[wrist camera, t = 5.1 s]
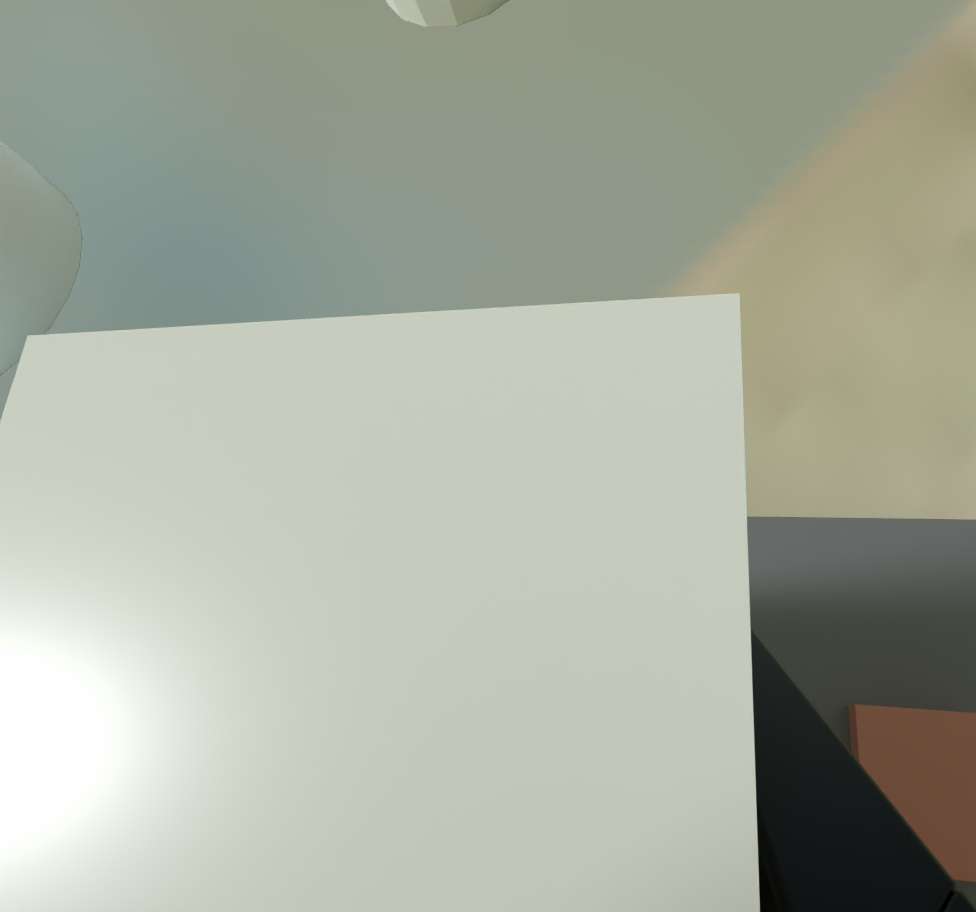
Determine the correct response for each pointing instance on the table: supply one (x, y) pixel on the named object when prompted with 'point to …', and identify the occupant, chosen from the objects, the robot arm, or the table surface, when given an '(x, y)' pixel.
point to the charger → (380, 615)
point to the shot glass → (443, 11)
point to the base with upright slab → (32, 254)
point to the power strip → (883, 655)
